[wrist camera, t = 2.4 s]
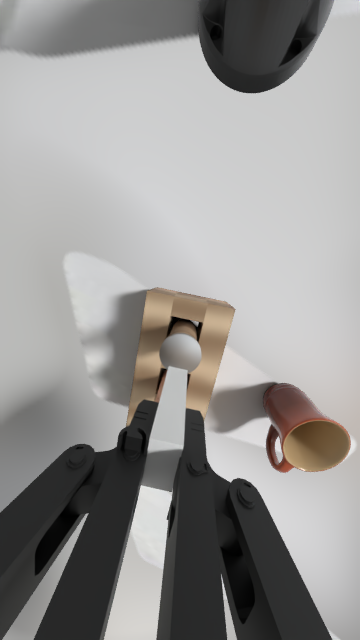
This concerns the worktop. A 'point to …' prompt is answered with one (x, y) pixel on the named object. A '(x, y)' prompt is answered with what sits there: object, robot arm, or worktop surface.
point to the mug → (302, 432)
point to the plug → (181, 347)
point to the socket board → (157, 328)
